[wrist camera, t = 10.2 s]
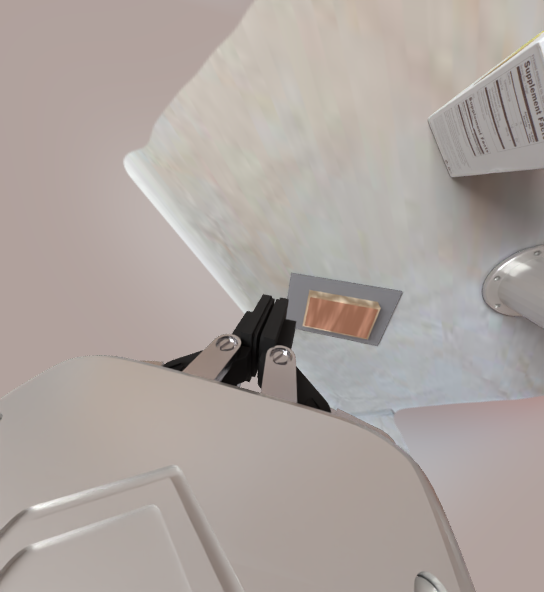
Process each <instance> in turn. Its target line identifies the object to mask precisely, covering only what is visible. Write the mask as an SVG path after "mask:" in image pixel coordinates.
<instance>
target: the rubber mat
mask: <svg viewBox="0 0 544 592" xmlns="http://www.w3.org/2000/svg"><path fill="white" fill-rule="evenodd" d="M309 290H313V291H319V292H324V293H330V294H336V295H341V296H347V297H353V298H358V299H364V300H370V301H375V302H378V303H379V306H380V308H381V309H380V311H379V314H378V316H377V318H376V321H375V323H374V326H373V328H372V330H371V333H370V335H369V337H368V340H367V339H362V338H358V337H353V336H348V335H343V334H338V333H334V332H329V331H324V330H319V329H314V328H310V327H305V326H303V320H304V315H305V310H306V305H307V300H308V295H309ZM401 294H402V291H398V290H392V289H386V288H380V287H374V286H368V285H362V284H356V283H350V282H344V281H338V280H332V279H326V278H320V277H314V276H307V275H301V274H295V273H291V277H290V284H289V291H288V298H287V299H289V302H288V309H287V316H286V319H289V320H293V321H296V327H295V329H300V330H305V331H310V332H314V333H319V334H324V335H329V336H333V337H338V338H343V339H348V340H352V341H357V342H362V343H366V344H371V345H376V346H378V344H379V342H380V339H381V337H382V335H383V333H384V331H385V329H386V326H387V324H388V322H389V320H390V318H391V316H392V313H393V311H394V309H395V307H396V305H397V302H398V300H399V298H400V296H401Z"/></svg>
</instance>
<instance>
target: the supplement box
mask: <svg viewBox="0 0 544 592" xmlns="http://www.w3.org/2000/svg"><path fill="white" fill-rule="evenodd" d="M428 122H429V124H430V127H431V130H432V132H433V135H434V137H435V140H436V142H437V145H438V147H439V150H440V152H441V154H442V157H443V159H444V162H445V164H446V167H447V169H448V172H449V174H450V177H460V176H471V175H481V174H490V173H500V172H512V171H523V170H533V169H544V30H543V31H542V32H541V33H539V34H538V35H537V36H535V37H534V38H533V39H531V40H530V41H529V42H527V43H526V44H525V45H523V46H522V47H521V48H519V49H518V50H517V51H515V52H514V53H512V54H511V55H510V56H508V57H507V58H506V59H504V60H503V61H502V62H500V63H499V64H498V65H496V66H495V67H494V68H492V69H491V70H490V71H488V72H487V73H486V74H484V75H483V76H482V77H480V78H479V79H478V80H477V81H475V82H474V83H473V84H471V85H470V86H469V87H467V88H466V89H465V90H463V91H462V92H461V93H459V94H458V95H457V96H455V97H454V98H453V99H452V100H450V101H449V102H448V103H446V104H445V105H444V106H443V107H441V108H440V109H439V110H437V111H436V112H435V113H434V114H432V115H431V116H430V117H429V118H428Z"/></svg>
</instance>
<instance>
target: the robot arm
mask: <svg viewBox="0 0 544 592" xmlns="http://www.w3.org/2000/svg"><path fill="white" fill-rule="evenodd" d="M482 292H483V298H484V300H485V302H486V303H487V304H488V305H489V306H490V307H491V308H493V309H494V310H496V311H497V312H499V313H502V314H505V315H510V316H524V317H525V318H527V319H529V320H530V321H532V322H533V323H535V324H537V325H538V326H540V327H541V328H543V329H544V245H540V246H535V247H531V248H528V249H525V250H522V251H520V252H518V253H515V254H513V255H512V256H510V257H508V258H506V259H505V260H504V261H502V262H501V263H500V264H498V265H497V266H496V267H495V268H494V269H493V270H492V271H491V272H490V274H489V275H488V276H487V278H486V280H485V282H484V285H483V289H482ZM288 302H289V299H285V298H280V300H279V299H277V300H276V302H275V304H274V299H273V298H272V296H269V295H264V294H263V295H262V297H261V299H260V301H259V302H258V304H257V306H256V307H255V309H254V311H253V312H250V311H247V312H246V313H245V315H244V316H243V318H242V319H241V321H240V322H239V324H238V325H237V327H236V329H235V330H234V332H233V333H232V334H223V335H220V336H218V337H217V338H215V339H214V340H213V341H212V342H211V343H210V344H209V345H208V346H207V347H206V348H205V349H204V350H203V351H200V352H196V353H194V354H190V355H187V356H184V357H181V358H178V359H175V360H172V361H170V362H167V363H166V364H164V363H163V362H158V361H138V360H134V359H128V358H123V357H117V356H106V355H104V356H103V355H96V356H83V357H77V358H72V359H69V360H66V361H63V362H61V363H59V364H57V365H55V366H53V367H51V368H49V369H48V370H46V371H44V372H42V373H40V374H39V375H37V376H35V377H34V378H32V379H30V380H29V381H27V382H25V383H24V384H22V385H21V386H19V387H17V388H16V389H14V390H13V391H11V392H9V393H8V394H6V395H5V396H3V397H2V398H0V592H476V591H475V588H474V585H473V583H472V580H471V577H470V575H469V572H468V569H467V567H466V564H465V561H464V559H463V556H462V553H461V551H460V548H459V546H458V543H457V541H456V539H455V536H454V533H453V531H452V529H451V526H450V524H449V521H448V519H447V517H446V514H445V512H444V510H443V507H442V505H441V503H440V501H439V499H438V497H437V495H436V493H435V491H434V489H433V487H432V485H431V483H430V481H429V480H428V478H427V477H426V475H425V473H424V472H423V471H422V469H421V468H420V466H419V465H418V464H417V463H416V462H415V461H414V460H413V458H412V457H411V456H410V455H409V454H407V453H406V452H405V451H404V450H403V449H401V448H400V447H399V446H398V445H396V444H395V442H394V440H393V439H392V438H391V437H390V436H389V435H388V434H387V433H385V432H384V431H382V430H380V429H378V428H376V427H374V426H372V425H370V424H368V423H366V422H364V421H362V420H360V419H358V418H356V417H354V416H352V415H350V414H348V413H346V412H344V411H342V410H340V409H338V408H337V411H336V410H334V409H332V408H330V406H329V405H328V403H327V402H326V400H325V399H324V398H323V397H322V396H321V394H320V393H319V392H318V391H317V390H316V389H315V387H314V386H313V385H312V384H311V383H310V382H309V381H308V379H307V378H306V377H305V376H304V375H303V374H302V372H301V371H300V370H299V369H298V368H297V367H296V357H295V354H294V352H293V351H292V350H291V348H292V343H293V338H294V333H295V327H296V321H293V320H289V319H286V316H287V309H288ZM257 370H258V376H257V377H258V385H259V387H260V388H261V393H259V392H255V391H251V390H248V389H244V388H240V385H241V383H242V382H244V381H248V382H250V380H251V377H252V376H253V377H255V376H256V373H257ZM416 576H418V577H416Z"/></svg>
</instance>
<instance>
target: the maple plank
mask: <svg viewBox="0 0 544 592" xmlns="http://www.w3.org/2000/svg"><path fill="white" fill-rule="evenodd" d="M380 309H381V308H380V306H379V303H378V302H375V301H370V300H364V299H358V298H353V297H347V296H341V295H336V294H330V293H324V292H319V291H313V290H309V295H308V300H307V305H306V310H305V315H304V320H303V326H305V327H310V328H314V329H319V330H324V331H329V332H334V333H338V334H343V335H348V336H353V337H358V338H362V339H367V340H368V337H369V335H370V333H371V330H372V328H373V326H374V323H375V321H376V318H377V316H378V314H379V311H380Z"/></svg>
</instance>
